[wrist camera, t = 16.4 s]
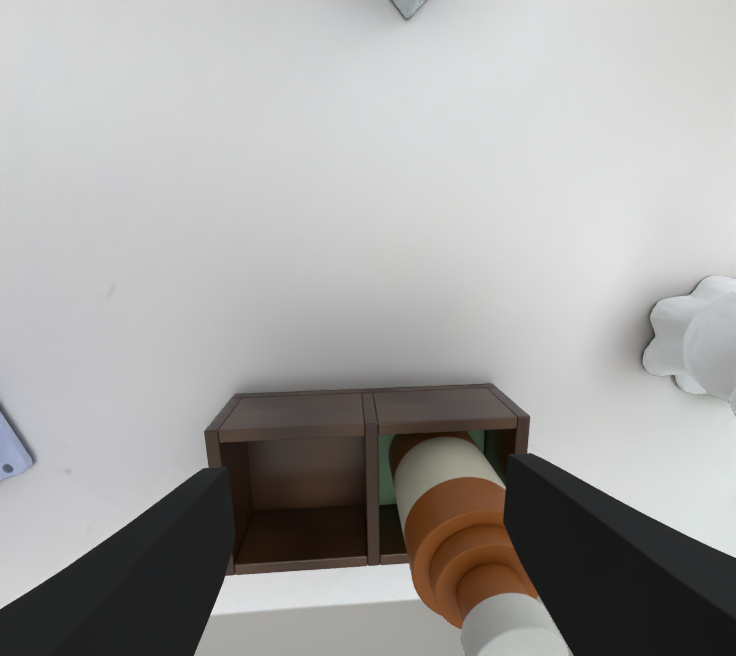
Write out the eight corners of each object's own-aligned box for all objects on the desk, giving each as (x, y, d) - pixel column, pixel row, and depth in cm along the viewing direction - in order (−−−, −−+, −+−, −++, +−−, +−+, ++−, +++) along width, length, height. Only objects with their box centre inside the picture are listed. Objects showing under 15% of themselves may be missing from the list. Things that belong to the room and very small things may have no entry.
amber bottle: (404, 503, 20) (462, 756, 10) (376, 432, 19) (408, 633, 9) (482, 474, 20) (623, 700, 10) (458, 401, 19) (588, 569, 9)
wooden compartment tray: (247, 512, 20) (221, 576, 16) (234, 393, 19) (203, 431, 15) (486, 499, 21) (518, 556, 17) (492, 383, 19) (530, 416, 15)
